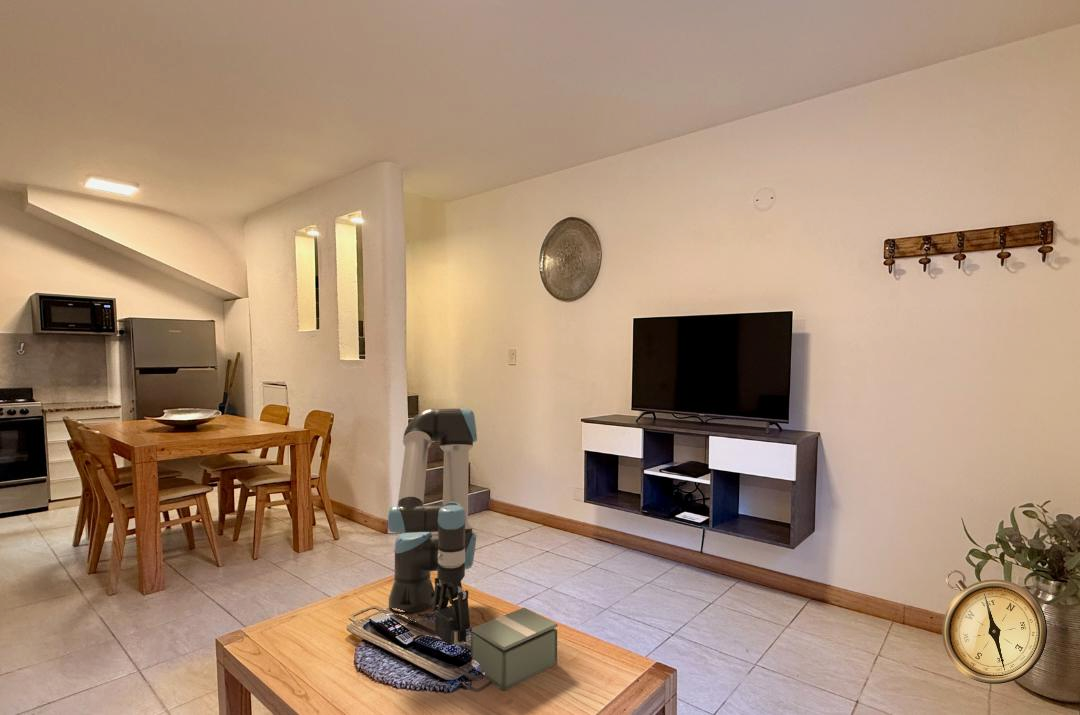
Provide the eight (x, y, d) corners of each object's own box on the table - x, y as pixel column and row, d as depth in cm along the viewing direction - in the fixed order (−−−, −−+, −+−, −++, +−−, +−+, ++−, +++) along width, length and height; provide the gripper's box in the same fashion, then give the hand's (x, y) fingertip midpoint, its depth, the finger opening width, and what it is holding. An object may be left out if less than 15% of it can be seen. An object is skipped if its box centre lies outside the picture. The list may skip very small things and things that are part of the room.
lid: (471, 631, 138) (471, 627, 138) (524, 610, 150) (524, 607, 150) (504, 650, 128) (504, 646, 128) (557, 626, 140) (557, 623, 140)
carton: (470, 665, 138) (471, 632, 138) (523, 642, 150) (523, 611, 150) (503, 690, 128) (503, 654, 128) (556, 663, 140) (557, 630, 140)
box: (466, 653, 144) (466, 614, 144) (448, 660, 141) (448, 620, 141) (452, 641, 150) (452, 604, 151) (434, 647, 147) (434, 609, 147)
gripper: (420, 556, 151) (419, 635, 151) (460, 578, 136) (459, 667, 135) (443, 550, 156) (442, 627, 156) (484, 571, 141) (483, 656, 140)
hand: (450, 645), depth 146 cm, fingers closed on box, 8 cm apart
